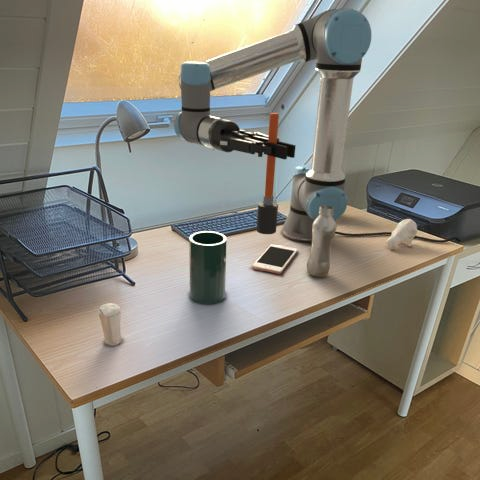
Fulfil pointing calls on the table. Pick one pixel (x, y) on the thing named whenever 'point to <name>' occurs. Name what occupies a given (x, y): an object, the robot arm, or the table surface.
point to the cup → (207, 267)
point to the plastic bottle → (321, 242)
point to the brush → (269, 187)
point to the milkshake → (110, 323)
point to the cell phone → (274, 259)
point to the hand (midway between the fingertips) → (290, 152)
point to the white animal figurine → (402, 234)
